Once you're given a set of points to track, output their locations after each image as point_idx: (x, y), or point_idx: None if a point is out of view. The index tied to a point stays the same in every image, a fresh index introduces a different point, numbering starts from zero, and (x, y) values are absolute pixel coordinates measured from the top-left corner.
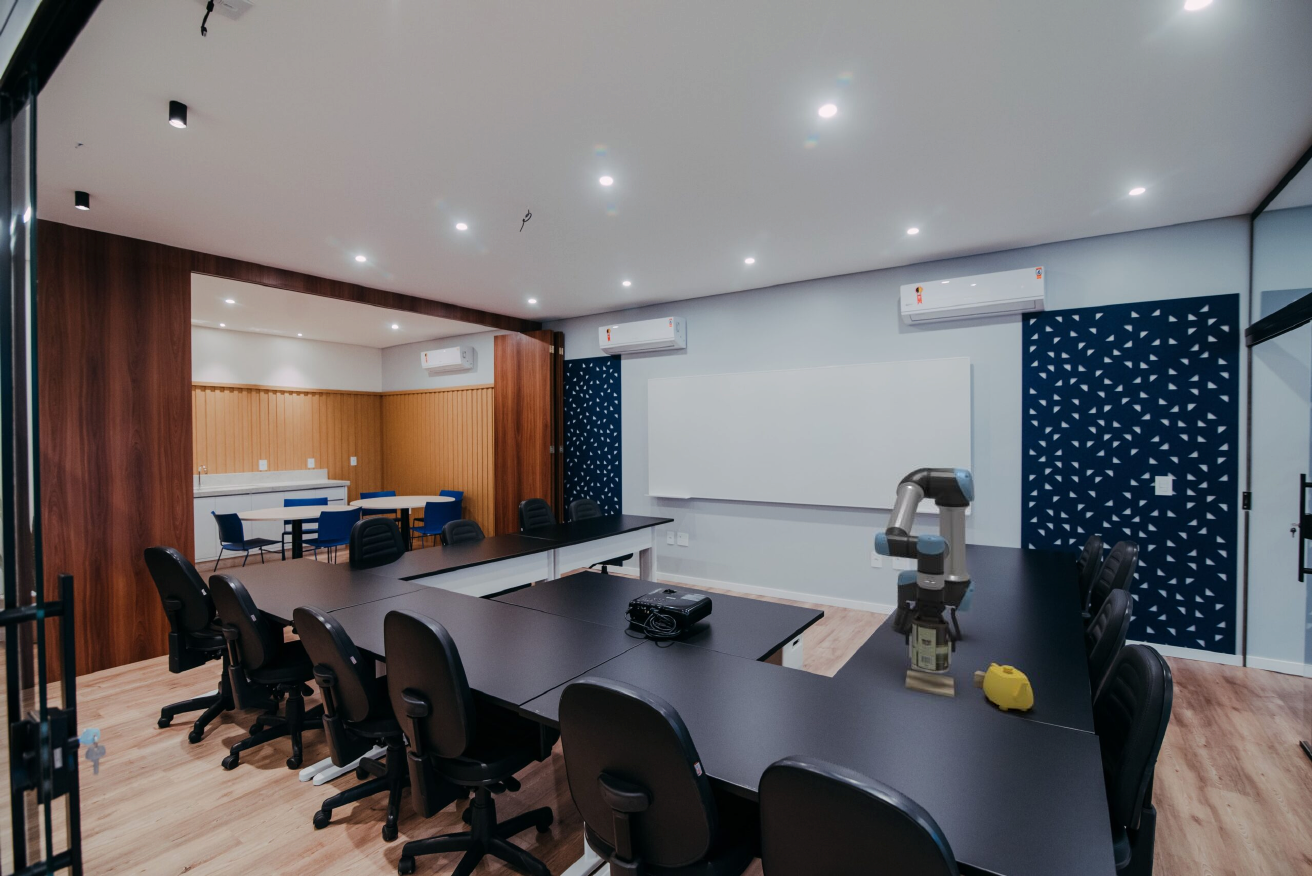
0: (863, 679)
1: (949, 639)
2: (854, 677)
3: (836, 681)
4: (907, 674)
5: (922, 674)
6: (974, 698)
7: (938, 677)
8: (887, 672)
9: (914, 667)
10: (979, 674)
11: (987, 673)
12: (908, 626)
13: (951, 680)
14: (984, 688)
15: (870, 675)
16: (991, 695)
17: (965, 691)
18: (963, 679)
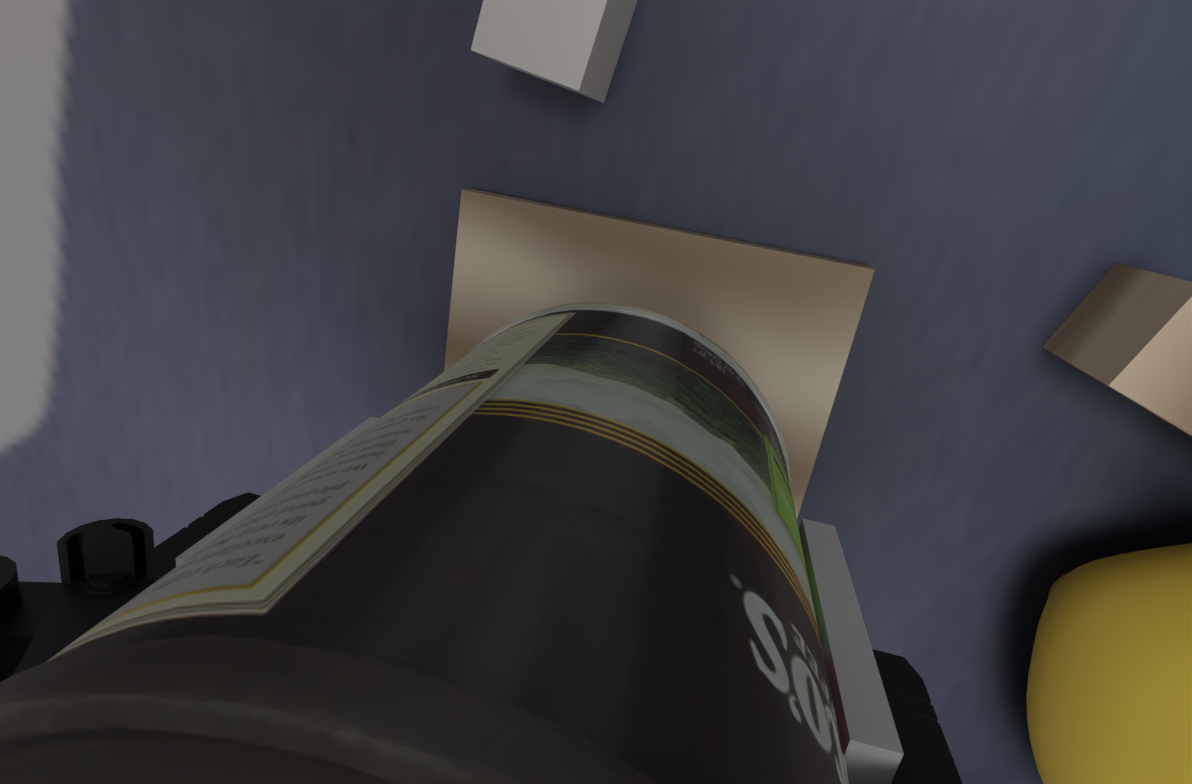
0: (162, 439)
1: (869, 755)
2: (103, 420)
3: (23, 512)
4: (454, 306)
5: (586, 266)
6: (925, 596)
7: (724, 300)
8: (307, 244)
9: (535, 76)
10: (1158, 408)
11: (1161, 780)
12: (26, 653)
13: (834, 340)
14: (1040, 677)
15: (194, 351)
16: (1040, 774)
17: (900, 484)
18: (995, 201)
